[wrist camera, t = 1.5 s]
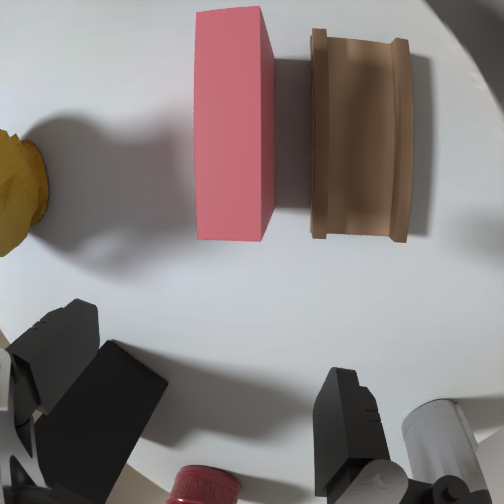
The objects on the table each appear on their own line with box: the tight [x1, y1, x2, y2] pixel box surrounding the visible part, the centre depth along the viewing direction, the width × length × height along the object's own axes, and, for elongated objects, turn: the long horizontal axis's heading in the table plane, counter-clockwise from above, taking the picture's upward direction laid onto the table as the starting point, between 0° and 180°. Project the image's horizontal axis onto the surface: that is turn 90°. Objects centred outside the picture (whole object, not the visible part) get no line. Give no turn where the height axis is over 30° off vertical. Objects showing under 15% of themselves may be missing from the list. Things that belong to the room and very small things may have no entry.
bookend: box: [34, 340, 168, 504], centre depth 32 cm, size 23×11×24 cm, turn 144°
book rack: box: [310, 28, 414, 243], centre depth 25 cm, size 9×19×4 cm, turn 0°
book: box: [194, 6, 275, 242], centre depth 22 cm, size 4×15×12 cm, turn 0°
